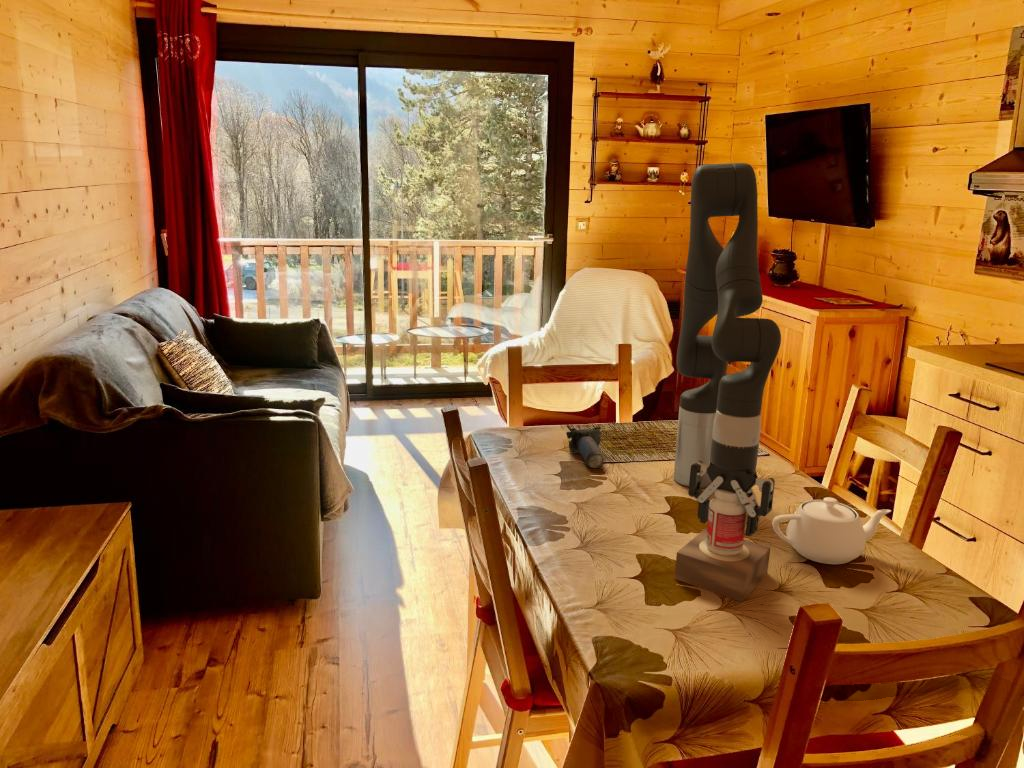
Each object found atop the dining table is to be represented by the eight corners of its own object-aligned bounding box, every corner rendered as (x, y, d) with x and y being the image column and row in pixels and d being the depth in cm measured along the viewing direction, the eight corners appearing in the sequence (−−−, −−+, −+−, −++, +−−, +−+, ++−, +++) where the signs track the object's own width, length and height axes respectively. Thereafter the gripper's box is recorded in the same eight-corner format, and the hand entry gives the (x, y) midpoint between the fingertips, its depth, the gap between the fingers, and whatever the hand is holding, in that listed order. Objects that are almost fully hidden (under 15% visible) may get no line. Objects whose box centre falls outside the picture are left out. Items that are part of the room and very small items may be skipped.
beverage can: (568, 457, 198) (583, 478, 187) (564, 429, 196) (579, 448, 185) (603, 448, 200) (620, 469, 189) (600, 420, 197) (616, 439, 186)
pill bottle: (750, 551, 138) (756, 491, 135) (725, 560, 134) (731, 498, 131) (722, 537, 143) (728, 479, 140) (697, 545, 139) (703, 486, 136)
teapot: (783, 571, 142) (790, 515, 139) (755, 536, 155) (761, 484, 152) (903, 570, 144) (913, 514, 141) (866, 535, 157) (874, 484, 154)
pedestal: (703, 553, 148) (705, 527, 146) (767, 573, 141) (770, 546, 140) (674, 578, 139) (676, 551, 137) (742, 601, 132) (745, 573, 130)
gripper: (786, 440, 132) (775, 532, 136) (704, 423, 140) (696, 509, 144) (770, 453, 126) (759, 548, 130) (685, 433, 134) (678, 524, 139)
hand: (726, 527), depth 137 cm, fingers open, 7 cm apart
